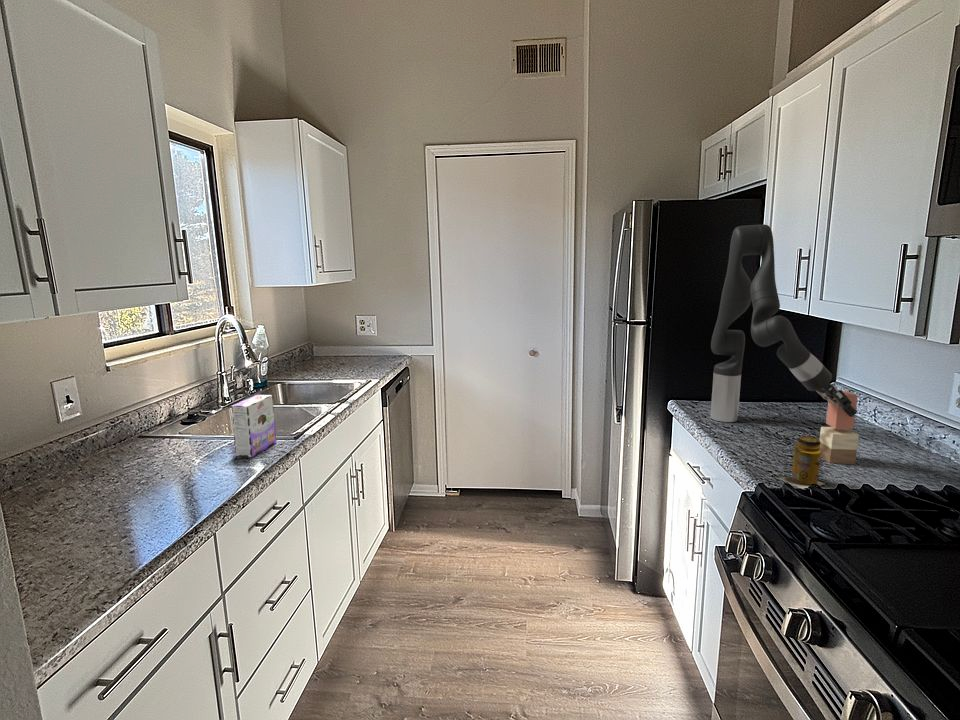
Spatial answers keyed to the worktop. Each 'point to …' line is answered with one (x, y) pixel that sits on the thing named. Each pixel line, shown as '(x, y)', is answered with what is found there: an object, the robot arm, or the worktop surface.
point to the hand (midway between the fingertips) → (847, 411)
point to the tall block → (841, 413)
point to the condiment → (805, 463)
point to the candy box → (253, 425)
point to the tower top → (839, 438)
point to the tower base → (837, 455)
